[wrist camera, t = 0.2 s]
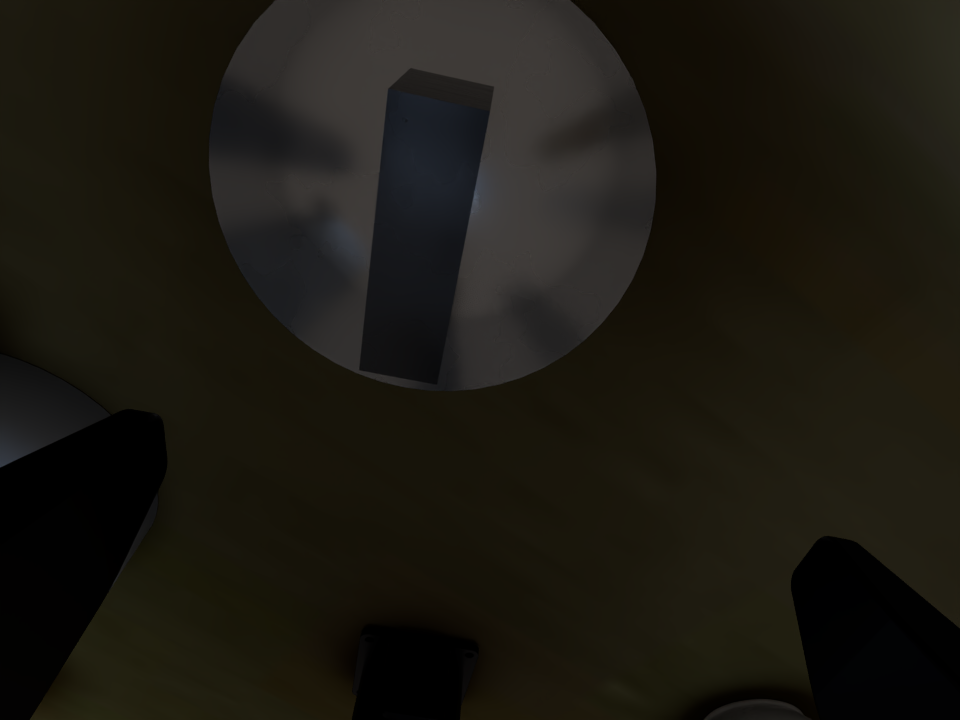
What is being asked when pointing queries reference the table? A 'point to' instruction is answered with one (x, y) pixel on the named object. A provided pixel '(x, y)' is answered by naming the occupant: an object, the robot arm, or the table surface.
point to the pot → (46, 418)
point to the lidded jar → (757, 711)
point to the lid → (433, 182)
